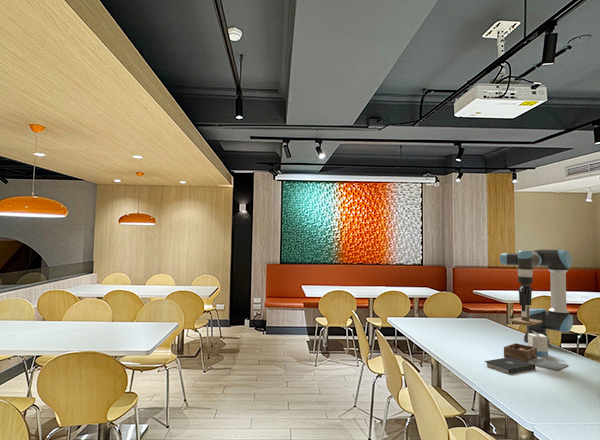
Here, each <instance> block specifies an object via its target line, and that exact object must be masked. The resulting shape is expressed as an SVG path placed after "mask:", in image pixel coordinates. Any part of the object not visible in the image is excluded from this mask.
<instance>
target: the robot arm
mask: <svg viewBox="0 0 600 440" xmlns="http://www.w3.org/2000/svg"><path fill="white" fill-rule="evenodd" d="M499 262H500V264H501V265H506V266H517V276H518V277H517V282H518V283H519V284H520V286H519V287H518V298H519V299H518V300H519V303H518V304H519V306H521V307H520V310H521V311H520V313H521V316H520V317H527V307H529V319H535V320H541V321H543V322H542V323H538V324H535V325H530V326H527V325H526V330H525V333H524V336H523V341H524V343H527V344H528V333H531V334H535V333H534V332H536V333H537V334H543V335H545V336H546V337H547V341H548V346H549V345H550V339H549V336H548V333H547V330H551V331H557V332H560V333H561V332H562V333H569V332H570V331H571V330H572V328H573V324H574V317H573V315H572V314H570V311H569V310H568V309H567V281H566V280H567V277H566V276H567V274H566V273H567V272H568V271H569V269H570V268H572V265H573V260H572V255H571V254H570V252H569V251H568V250H564V249H543V248H542V249H535V250H518V252H511V253H509V252H502V253H501V254H500V255H499ZM538 266H540V267H547V270H548V271H549V273H550V280H549V281H550V308H549V309H548V311H547V309H546V308H530V306H532V293H533V292H532V291H533V287H532V286H531V285H532V284H534V283H533V281H534V279H533V275H534V271H533V268H534V267H535V268H536V267H538ZM530 284H531V285H530ZM533 331H534V332H533Z"/></svg>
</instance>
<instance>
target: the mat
mask: <svg viewBox="0 0 600 440" xmlns="http://www.w3.org/2000/svg"><path fill="white" fill-rule="evenodd" d="M531 364H535V367H540V368H544V369H548V370H552V371H555V372H560V371H561V370H564V369H565V368H567V367H569V364H568V363H562V362H557V361H553V360H549V359H544V358H541V359H539V360H536V361H534V362H532V363H531Z"/></svg>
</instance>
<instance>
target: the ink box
mask: <svg viewBox="0 0 600 440" xmlns="http://www.w3.org/2000/svg"><path fill="white" fill-rule="evenodd" d="M533 332H534V331H533ZM534 333H535V334H531V333H528V343H527V346H531V347H536V348H537V357H538V356H539V357H549V351H548V350H549V345H548V341H547V337H546V336H545V335H543V334H537V333H536V332H534Z"/></svg>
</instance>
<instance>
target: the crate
mask: <svg viewBox="0 0 600 440" xmlns="http://www.w3.org/2000/svg"><path fill="white" fill-rule="evenodd" d="M507 357H511V358H515V359H518V360H521V361H525V362H528V363H529V362H531V361H533V360H536V359H537V358H538V356H537V348H536V347H531V346H528V344H521V343H516V342H515V343H512V344H511V343H510V344H509V345H506V346H503V358H507Z"/></svg>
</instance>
